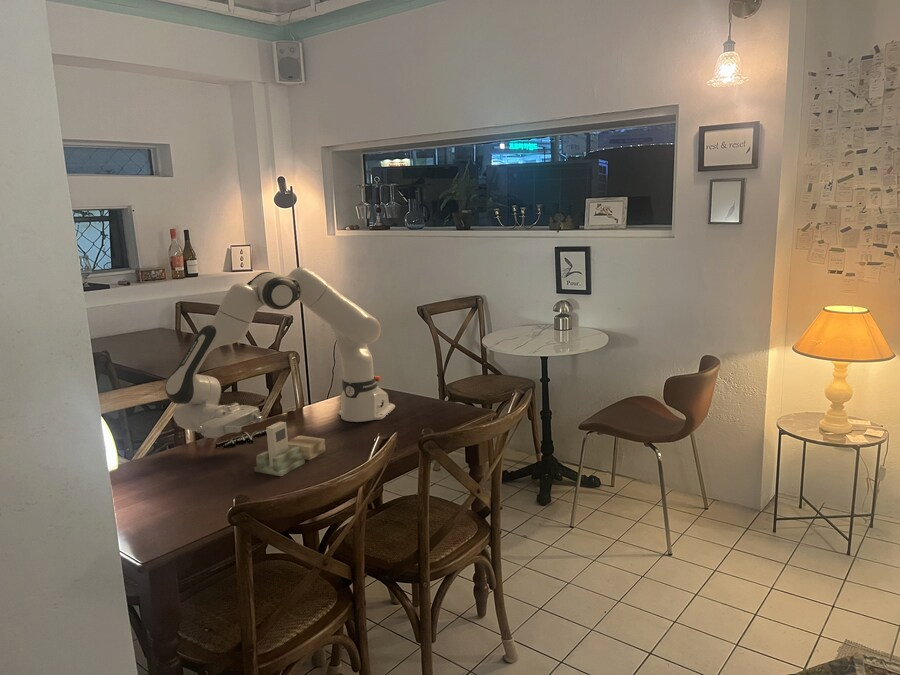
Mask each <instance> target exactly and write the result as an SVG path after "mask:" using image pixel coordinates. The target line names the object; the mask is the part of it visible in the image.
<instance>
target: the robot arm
mask: <svg viewBox="0 0 900 675" xmlns="http://www.w3.org/2000/svg"><path fill="white" fill-rule="evenodd" d="M297 301H298V302H300V303H301V304H302V305H304V306H305V307H306V308H307V309H308V310H310V311H311V312H312V313H313V314H315V315H316V316H317V317H318V318H320V320H322V321H323V322H325V323H327V324H328V325H330V328H331V331H332V333H333V334H334V336H335V339H336V342H337V346H338V350H339V354H340V358H341V368H342V369H341V370H342V380H341V386H342V387H341V388H342V392H341V395H340V396H341V397H340V410H339V411H338V415H339V416H340V418H341V419H342V421H346V422H352V423H354V422H355V423H359V422H360V423H361V422H369V421H375V420H383V419H385V417H386V415H387V416H388V415H389V414H390V413H391V412H392V411H394V409H395V408H396V405H395V404H394V403H392V402H390V401H389V395H388V392H386V391H385V390H383V389H382V388H381V387H379V386H378V384H377V382H381V376H379V375H377V376H376V375H374V361H373V360H374V359H373V355H372V353H371V352H370V349H369V347H368V345H369V344H373V343H375V342H376V341H377V340H378V339H379V337H380V335H381V333H382V327H381V323H380V322H379V320H377V318H376V317H374V316H373V315H372V314H370V313H369V312H367V310H365V309H363V308H362V307H360V306H359V305H357V304H356V303H355V302H353V301H351V300H350V299H349V298H347V297H346V296H344V295H343V294H342V293H341V292H339V291H338V290H337V289H336V288H335V287H334V286H332V285H331V284H330V283H329V282H328V281H326V280H325V279H324V278H322V277H321V276H320V275H319V274H318V273H316V272H314V271H313V270H311V269H309V268H307V267H305V266H299V267H296V268H294V269H292V271H291V272H289V274H287V275H286V276H283V275H281V274H277V273H275V272H273V271H272V272H271V271H263V272H260V273H258V274H257V275H256V276H254V277H253V278H252V279H251V280H250V281H248V282H247V283H243V282H242V283H240V282H238V283H234V284H233V285H231V286H230V288H229V290H228V291H227V293H226V294H225V295H224V298H223V300H222V301H221V302H220V305H219V308H218V309H217V312H216V314H215V315H214V317H213V318H212V320H211V321H210V322H208V324H207V325H206V326H204V327H202V328H201V329H200V330H199V331H198V333H197V334H196V336H195V337H194V339H193V340H192V342H191V344H190V346H189V347H188V349H187V351H186V352H185V354H184V356H182V359H181V360H180V362H179V364H178V365H177V367H176V368H175V369H174V370H173V372H172V373H171V374H169V376H168V378H167V380H166V381H165V386H164V389H165V390H164V391H165V394H166V396H167V398H168V400H170V402H171V403H173V404H175V405H176V404H177V405H176V406H175V408H174V410H173V413H172V414H173V415H172V417H173V420H174V422H175V424H176V425H177V426H179V427H180V428H182V429H185V430H189V431H193V432H196V434H197V433H198V434H201V436H203V437H205V438H210V439H218V438H221V437H222V436H225V435H227V434H233V433H235V434H237V433H240V432H243V431H242V430H243V429H242V428H243V427H244V426H247V425H249V424H251V423H254V422H255V423H259V424H260V423H261V422H264V419H263V416H262V415H261V412H260V409H259V407H258V406H253V405H245V404H244V405H243V404H241V405H240V404H239V403H238V402H231V403H228V404H220V401H221V396H222V389H223V388H222V385H221V382H220V381H219V379H218V378H216V377H215V376H210V375H204V374H198V371H199V370H200V368H201V366H202V365H203V363H204V362H205V360H206V358H207V356H208V355H209V354H210V352H212V351H213V350H214V349H215V350H216V348H220V347H222V346H226V345H232V344H235V343H238V342H239V341H241V340H242V339H244V338H245V336H246V335H247V333H248V331H249V329H250V327H251V325H252V323H253V320H254V317H255V314H257V312H258V310H260V309H261V308H262V307H263V306H266V307H268V308H270V309H272V310H277V311H280V310H285V309H287V308H290V307H291V306H292V305H293V304H294V303H295V302H297ZM388 413H389V414H388Z"/></svg>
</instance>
